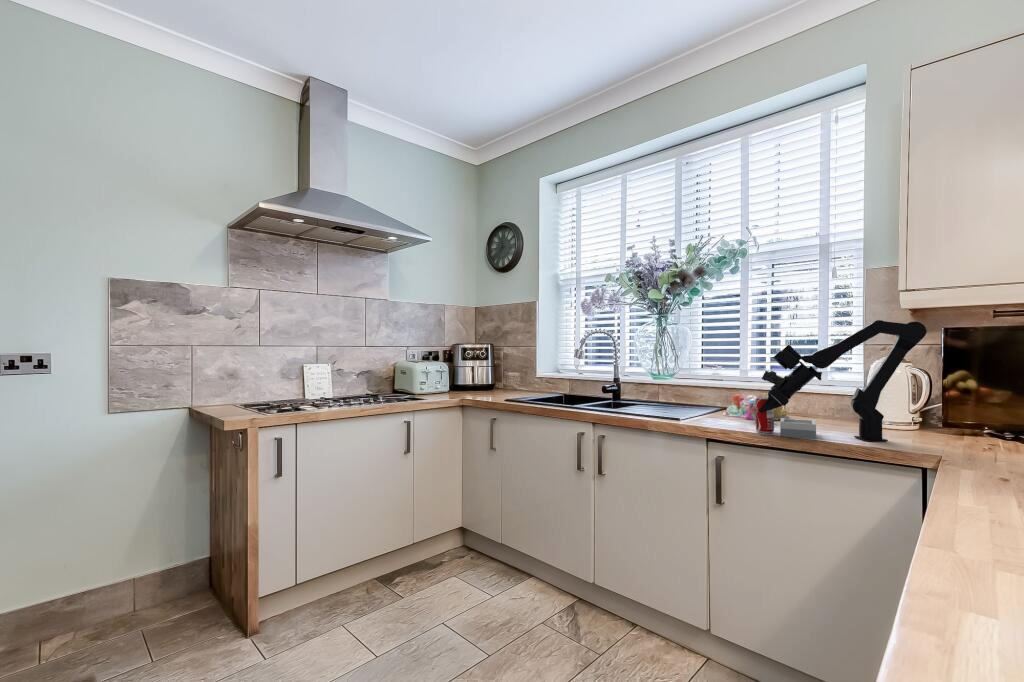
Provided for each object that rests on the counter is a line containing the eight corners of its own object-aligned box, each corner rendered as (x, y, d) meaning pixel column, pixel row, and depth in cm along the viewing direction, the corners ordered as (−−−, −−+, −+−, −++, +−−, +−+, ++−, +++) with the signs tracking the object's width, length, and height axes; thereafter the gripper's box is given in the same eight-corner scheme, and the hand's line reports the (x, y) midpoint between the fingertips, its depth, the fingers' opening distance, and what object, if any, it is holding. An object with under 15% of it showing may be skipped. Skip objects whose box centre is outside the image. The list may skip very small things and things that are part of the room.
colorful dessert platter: (790, 415, 211) (790, 393, 211) (788, 423, 190) (787, 399, 191) (726, 411, 224) (726, 391, 224) (718, 418, 203) (718, 396, 204)
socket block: (814, 433, 166) (814, 420, 166) (816, 438, 157) (816, 424, 158) (781, 431, 171) (780, 418, 171) (780, 435, 162) (780, 422, 162)
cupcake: (780, 423, 187) (780, 392, 187) (763, 425, 184) (763, 392, 184) (761, 420, 195) (761, 390, 195) (744, 422, 192) (744, 390, 192)
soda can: (755, 430, 174) (754, 395, 174) (772, 431, 172) (772, 396, 172) (756, 432, 169) (756, 397, 169) (774, 433, 167) (774, 397, 167)
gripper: (778, 361, 176) (744, 391, 182) (776, 363, 160) (739, 396, 166) (803, 384, 173) (768, 414, 178) (805, 388, 156) (765, 421, 162)
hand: (760, 410), depth 171 cm, fingers closed on soda can, 6 cm apart
